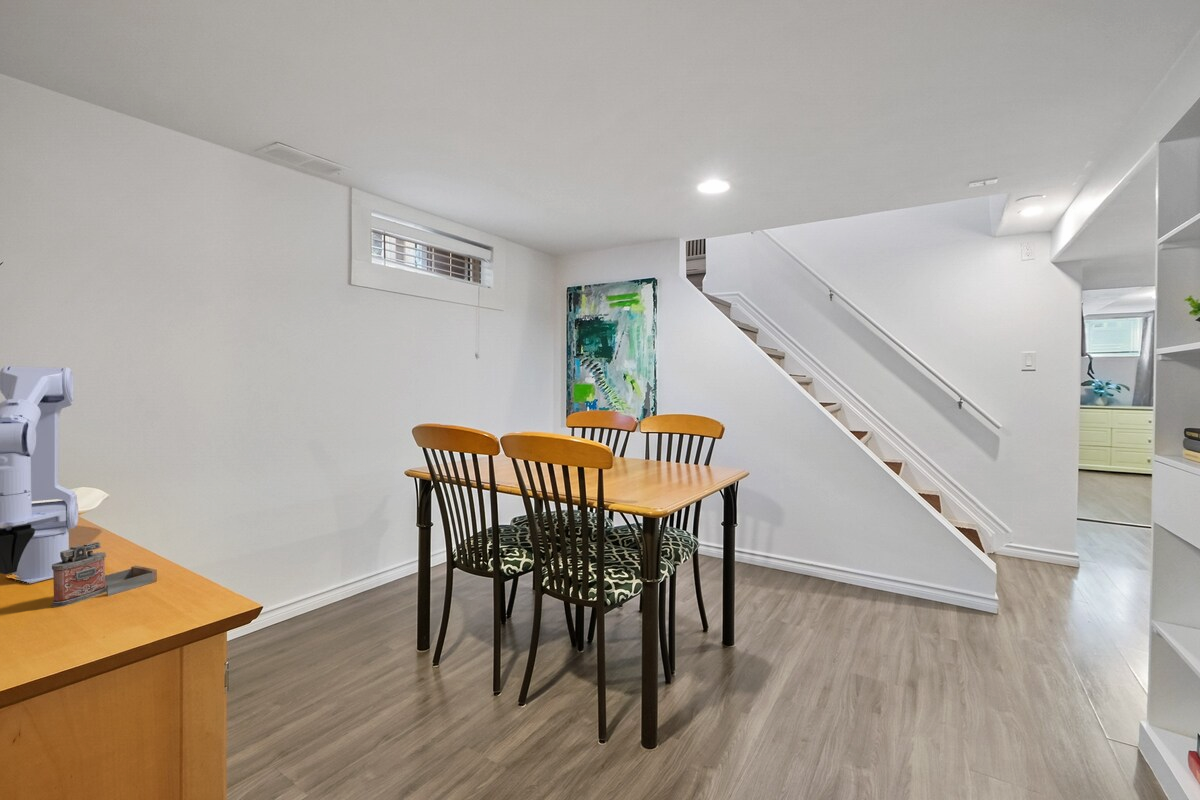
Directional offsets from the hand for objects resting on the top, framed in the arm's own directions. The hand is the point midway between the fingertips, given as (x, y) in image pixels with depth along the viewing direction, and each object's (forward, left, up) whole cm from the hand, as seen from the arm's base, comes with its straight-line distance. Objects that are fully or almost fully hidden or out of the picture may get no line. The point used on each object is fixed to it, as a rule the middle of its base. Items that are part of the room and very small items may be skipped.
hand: (8, 572), depth 89 cm
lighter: (0, +10, -8) cm, 13 cm away
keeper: (0, +16, -8) cm, 18 cm away
